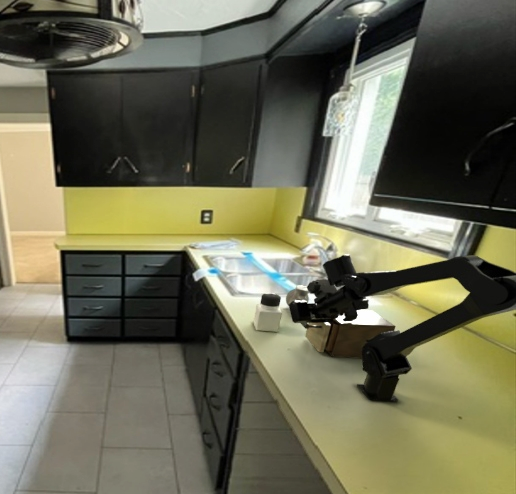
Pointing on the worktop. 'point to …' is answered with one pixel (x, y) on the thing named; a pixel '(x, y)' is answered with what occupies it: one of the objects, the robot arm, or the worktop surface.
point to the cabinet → (358, 333)
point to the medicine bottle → (268, 313)
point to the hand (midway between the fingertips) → (305, 321)
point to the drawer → (321, 334)
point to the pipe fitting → (297, 294)
